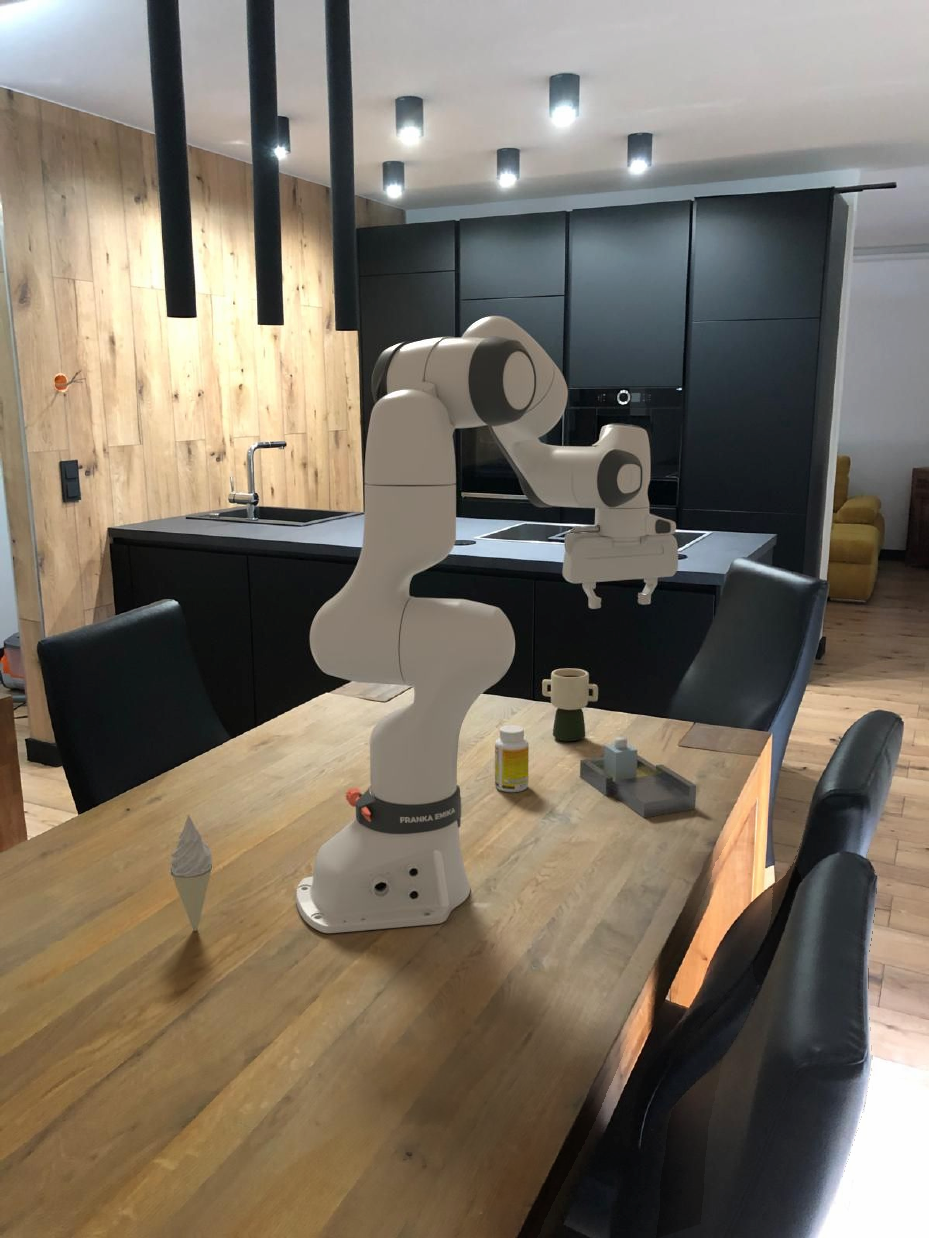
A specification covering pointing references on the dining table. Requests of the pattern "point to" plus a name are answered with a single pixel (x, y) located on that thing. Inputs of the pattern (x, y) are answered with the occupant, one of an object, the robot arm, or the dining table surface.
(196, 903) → the ice cream cone
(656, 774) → the rail
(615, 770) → the light blue tall block
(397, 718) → the robot arm
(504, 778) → the supplement bottle
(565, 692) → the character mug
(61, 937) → the dining table surface
